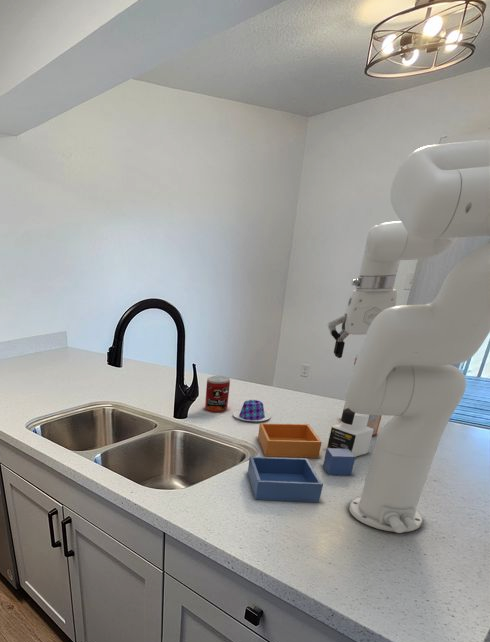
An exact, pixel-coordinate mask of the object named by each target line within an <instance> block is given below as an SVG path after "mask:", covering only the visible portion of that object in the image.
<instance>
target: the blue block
mask: <svg viewBox="0 0 490 642" xmlns="http://www.w3.org/2000/svg"><path fill="white" fill-rule="evenodd" d="M355 459H356V457H355V456H354V455H353V454H352V453H351V451H350V450H349V449H341V448H327V447H326V449H325V455H324V459H323V463H322V467H323V468H324V470H325V471H326V473H327V474H328V475H335V476H338V475H339V476H351V475H352V472H353V468H354V463H355Z"/></svg>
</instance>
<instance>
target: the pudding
mask: <svg viewBox="0 0 490 642" xmlns="http://www.w3.org/2000/svg"><path fill="white" fill-rule="evenodd" d="M242 404H243V405H242V407H241V409H238V410H236V411H234V412H233V413H232V416H233V417H235V418H236V419H239V420H242V421H247V422H263V421H267V420H270V419H271V418H272V415H271V413H269V412H267V411H265V407H264V403H263V401H261V400H257V399H248V400H245V401H243V403H242Z"/></svg>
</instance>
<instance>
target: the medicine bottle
mask: <svg viewBox="0 0 490 642" xmlns="http://www.w3.org/2000/svg"><path fill="white" fill-rule="evenodd" d="M342 413H343V414H341V417H342V418H340V423H339V424H335V425H332V426H331V428H330V432H329V438H328V442H327V445H326V449H327V448H341V449H349V450H350V451H351V453H352V454H353V455H354V456H355V458H357V457H359V456H363V455H366V454H368V453H369V449H370V445H371V441H372V437H373V435H372V434H373V430H374V429H373V428H370V427H366V426H367V422H368V418H369V415H365V414H358V413H355V412H353V411H351V410H350V409H349V408H347V409H345V410H343V409H342Z"/></svg>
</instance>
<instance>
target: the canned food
mask: <svg viewBox="0 0 490 642" xmlns="http://www.w3.org/2000/svg"><path fill="white" fill-rule="evenodd" d="M206 379H207V380H206V387H205V389H206V390H205V401H204V402H205V403H204V408H205V410H206V411H207V412H211V413H223V412H225V411H227V409H228V403H229V396H230V388H231V387H230V385H231V378H230V377H228V376H224V375H213V376H209V377H207V378H206Z"/></svg>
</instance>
